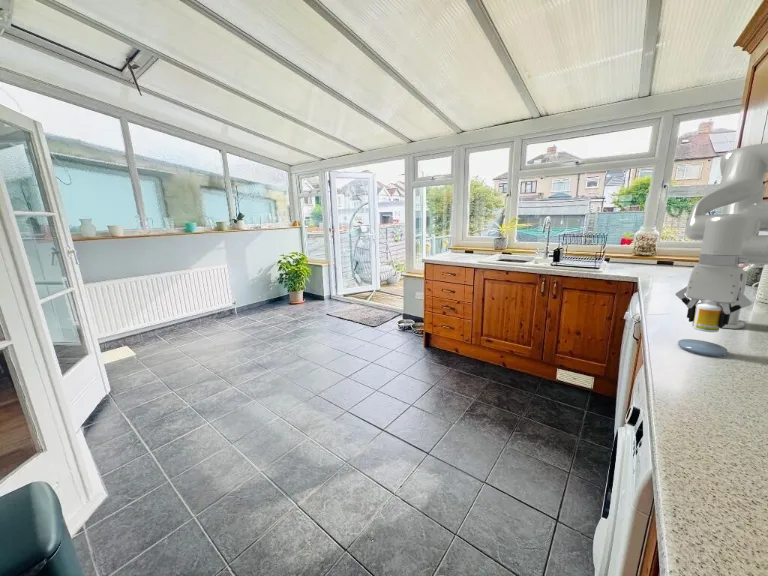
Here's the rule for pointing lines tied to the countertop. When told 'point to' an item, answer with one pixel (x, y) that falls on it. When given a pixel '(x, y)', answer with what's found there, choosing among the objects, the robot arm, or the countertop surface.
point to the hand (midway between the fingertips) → (706, 322)
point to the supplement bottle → (707, 316)
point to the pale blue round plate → (702, 347)
